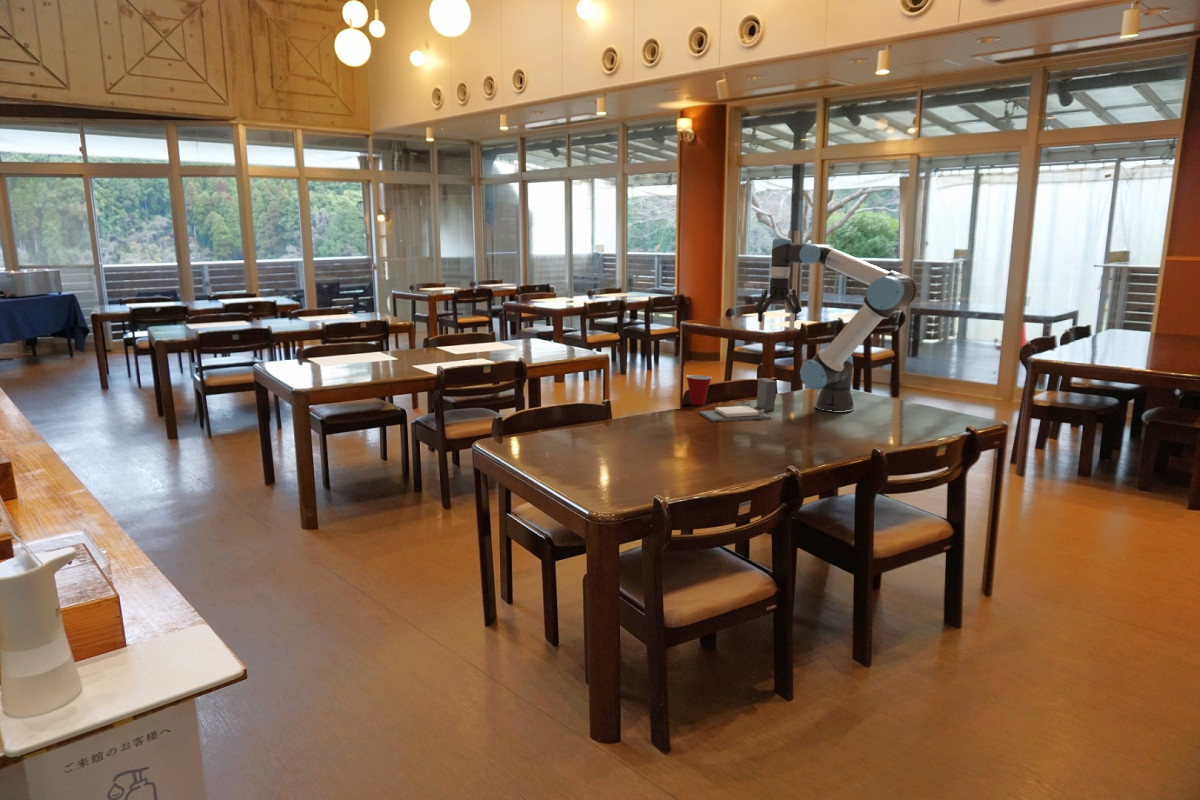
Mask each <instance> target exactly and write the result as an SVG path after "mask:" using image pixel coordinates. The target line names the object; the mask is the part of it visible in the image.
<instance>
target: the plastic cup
mask: <svg viewBox="0 0 1200 800" xmlns="http://www.w3.org/2000/svg"><path fill="white" fill-rule="evenodd" d="M685 377H686V380H687V387H688V394H689V395H688V396H689V401H690V404H691V405H693V406H704V405H705V404H706V400H707V396H708V393H709V392H708V391H709V386H710V383H711V380H712V379H713V377H712V376H710V375H709V376H708V375H700V374H699V375H698V374H689V375H688V374H687V375H686V376H685ZM691 390H692V391H691Z"/></svg>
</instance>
